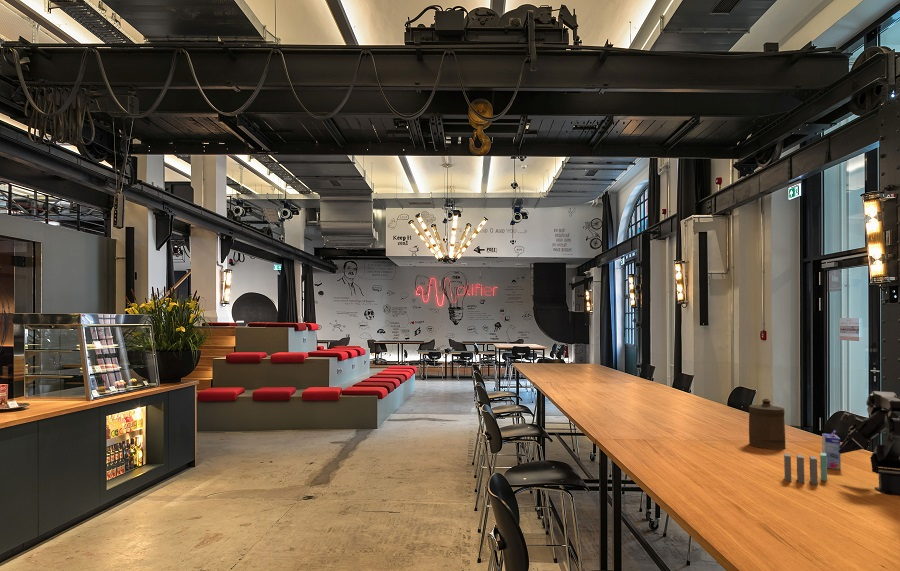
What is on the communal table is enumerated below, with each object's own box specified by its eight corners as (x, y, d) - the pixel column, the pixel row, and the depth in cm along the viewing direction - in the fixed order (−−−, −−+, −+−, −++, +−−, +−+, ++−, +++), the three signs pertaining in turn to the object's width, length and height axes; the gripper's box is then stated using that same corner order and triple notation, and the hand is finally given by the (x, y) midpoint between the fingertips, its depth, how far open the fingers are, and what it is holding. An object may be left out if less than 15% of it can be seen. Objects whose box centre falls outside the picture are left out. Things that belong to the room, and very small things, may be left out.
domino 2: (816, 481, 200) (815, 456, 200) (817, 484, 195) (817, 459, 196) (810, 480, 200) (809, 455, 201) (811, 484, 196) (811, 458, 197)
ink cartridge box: (842, 470, 216) (840, 432, 217) (825, 468, 218) (824, 431, 219) (838, 464, 224) (836, 428, 225) (821, 462, 227) (820, 427, 228)
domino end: (790, 478, 203) (789, 453, 204) (791, 481, 199) (790, 456, 200) (784, 477, 204) (783, 453, 205) (785, 480, 200) (784, 455, 200)
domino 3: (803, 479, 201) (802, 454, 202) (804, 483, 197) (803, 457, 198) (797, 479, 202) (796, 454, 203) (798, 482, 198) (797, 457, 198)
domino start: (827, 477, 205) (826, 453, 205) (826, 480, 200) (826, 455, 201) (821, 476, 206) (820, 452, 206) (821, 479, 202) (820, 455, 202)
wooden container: (785, 445, 259) (784, 398, 261) (785, 451, 247) (784, 402, 248) (750, 441, 267) (749, 395, 269) (748, 447, 255) (747, 399, 256)
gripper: (856, 403, 206) (821, 429, 212) (855, 408, 192) (819, 436, 197) (883, 427, 201) (847, 453, 207) (885, 434, 186) (846, 462, 192)
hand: (839, 450), depth 201 cm, fingers open, 9 cm apart
